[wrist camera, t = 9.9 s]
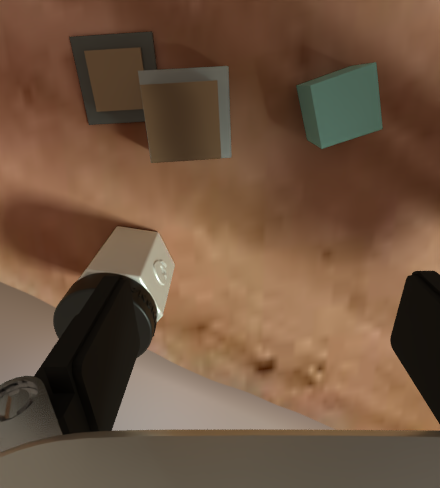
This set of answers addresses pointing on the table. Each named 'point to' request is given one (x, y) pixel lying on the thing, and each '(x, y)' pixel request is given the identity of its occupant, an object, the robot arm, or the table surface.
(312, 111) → the teal cube
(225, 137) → the grey base block
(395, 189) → the table surface
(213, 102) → the walnut cube
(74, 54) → the swatch
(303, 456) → the robot arm
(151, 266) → the jar
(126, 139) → the table surface
